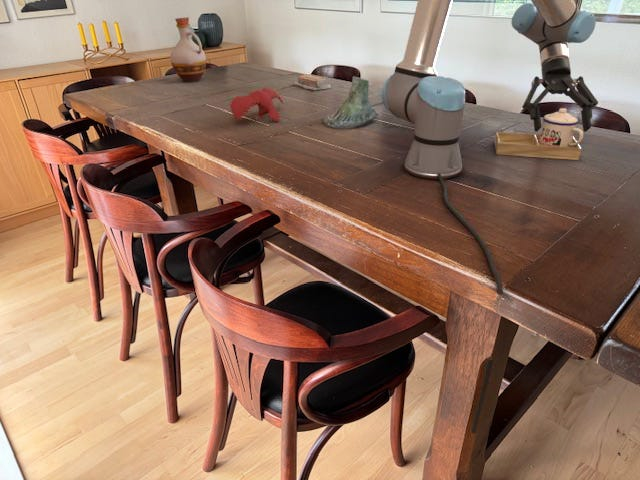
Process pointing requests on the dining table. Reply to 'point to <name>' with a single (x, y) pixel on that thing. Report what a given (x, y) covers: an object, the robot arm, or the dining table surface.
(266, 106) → the red animal figurine
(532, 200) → the dining table surface
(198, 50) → the jug
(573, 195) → the dining table surface
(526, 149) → the organizer
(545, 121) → the teacup with lid
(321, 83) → the packaged product
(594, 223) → the dining table surface
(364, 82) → the tree stump
